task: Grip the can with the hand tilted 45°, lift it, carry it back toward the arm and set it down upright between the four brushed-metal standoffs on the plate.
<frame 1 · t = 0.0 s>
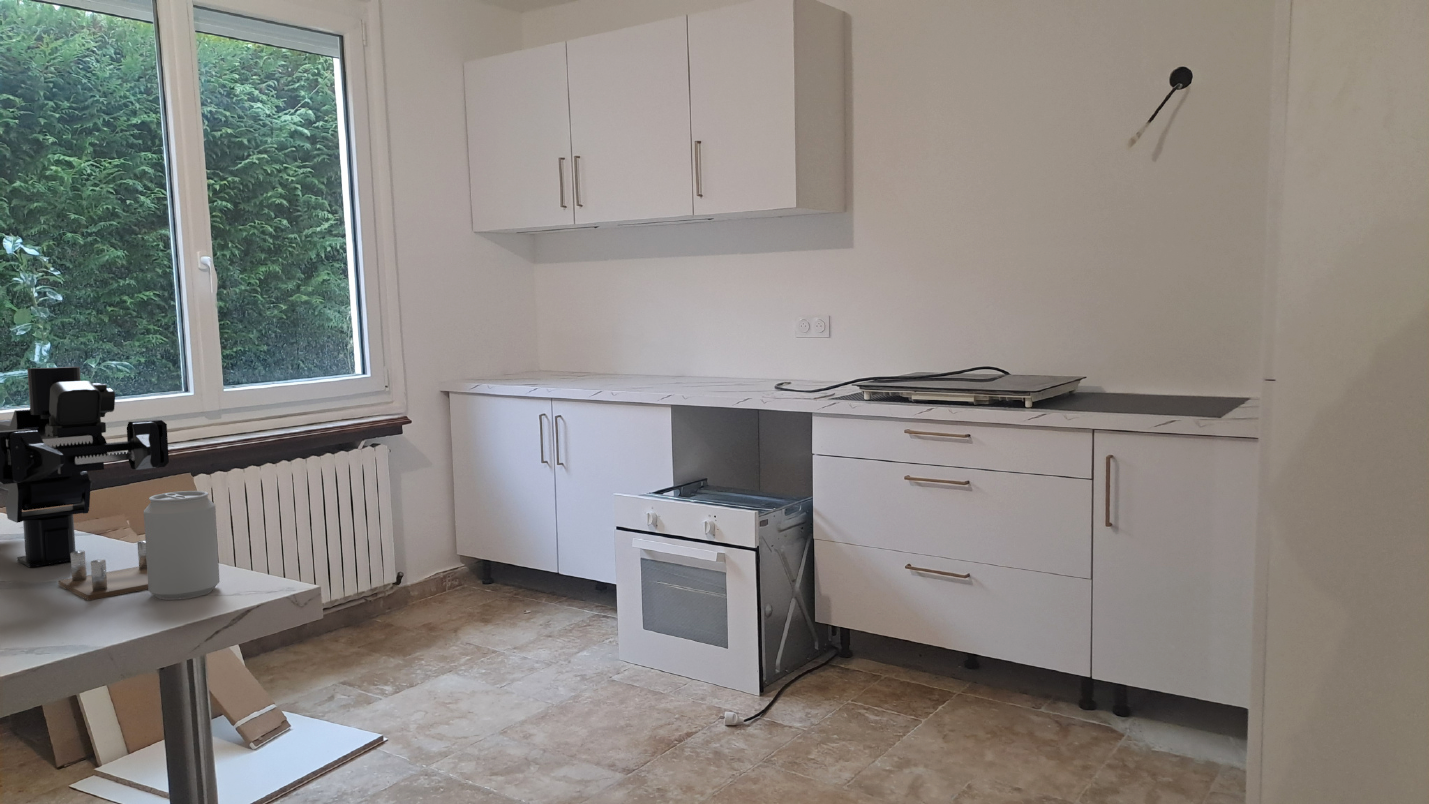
hand: (107, 455, 116), 17 cm above the table, tool horizontal, fingers open, 9 cm apart
can: (184, 594, 116), on the table
standoff plate: (124, 583, 121), on the table
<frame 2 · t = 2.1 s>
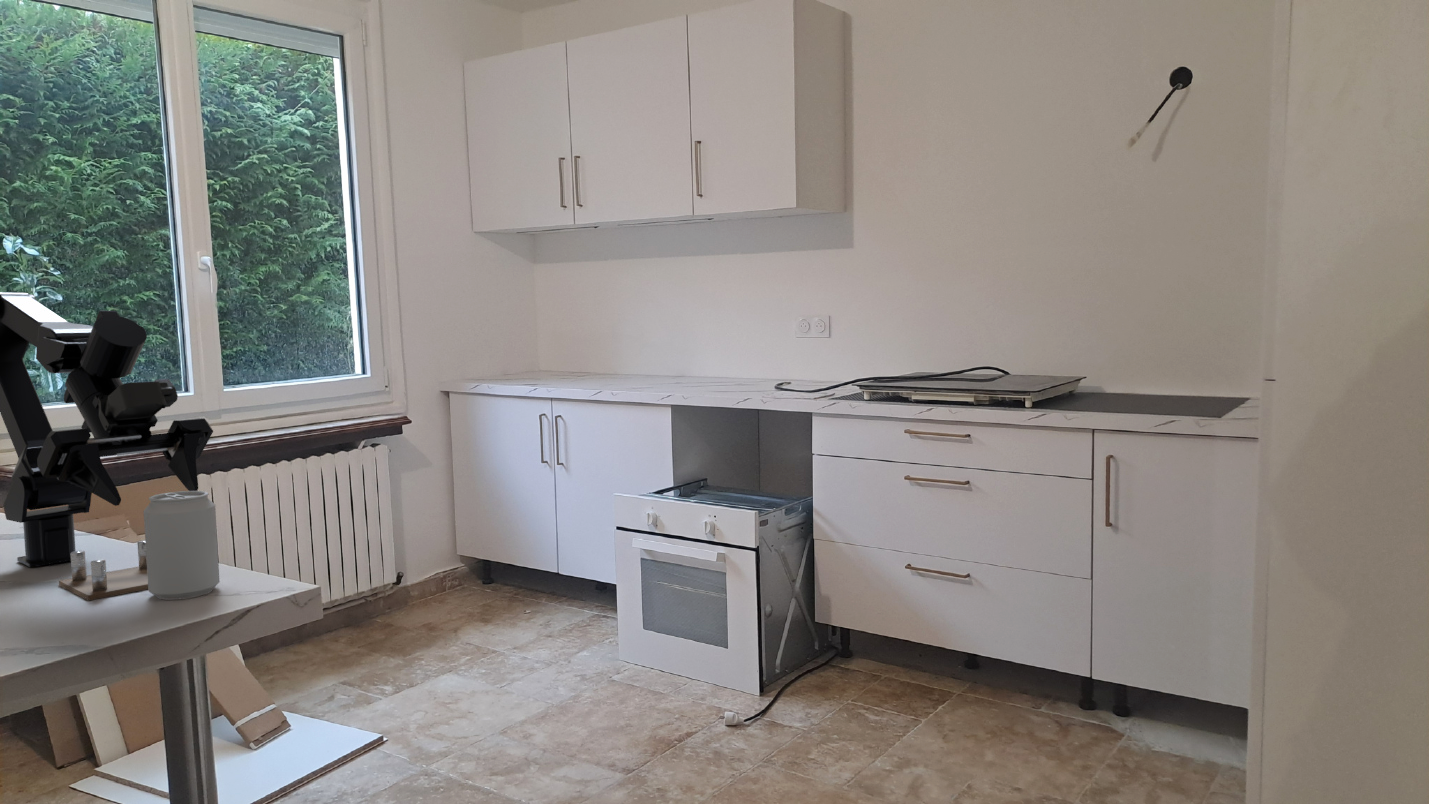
hand: (158, 497, 118), 11 cm above the table, tool tilted 45°, fingers open, 9 cm apart
nothing on the table moved.
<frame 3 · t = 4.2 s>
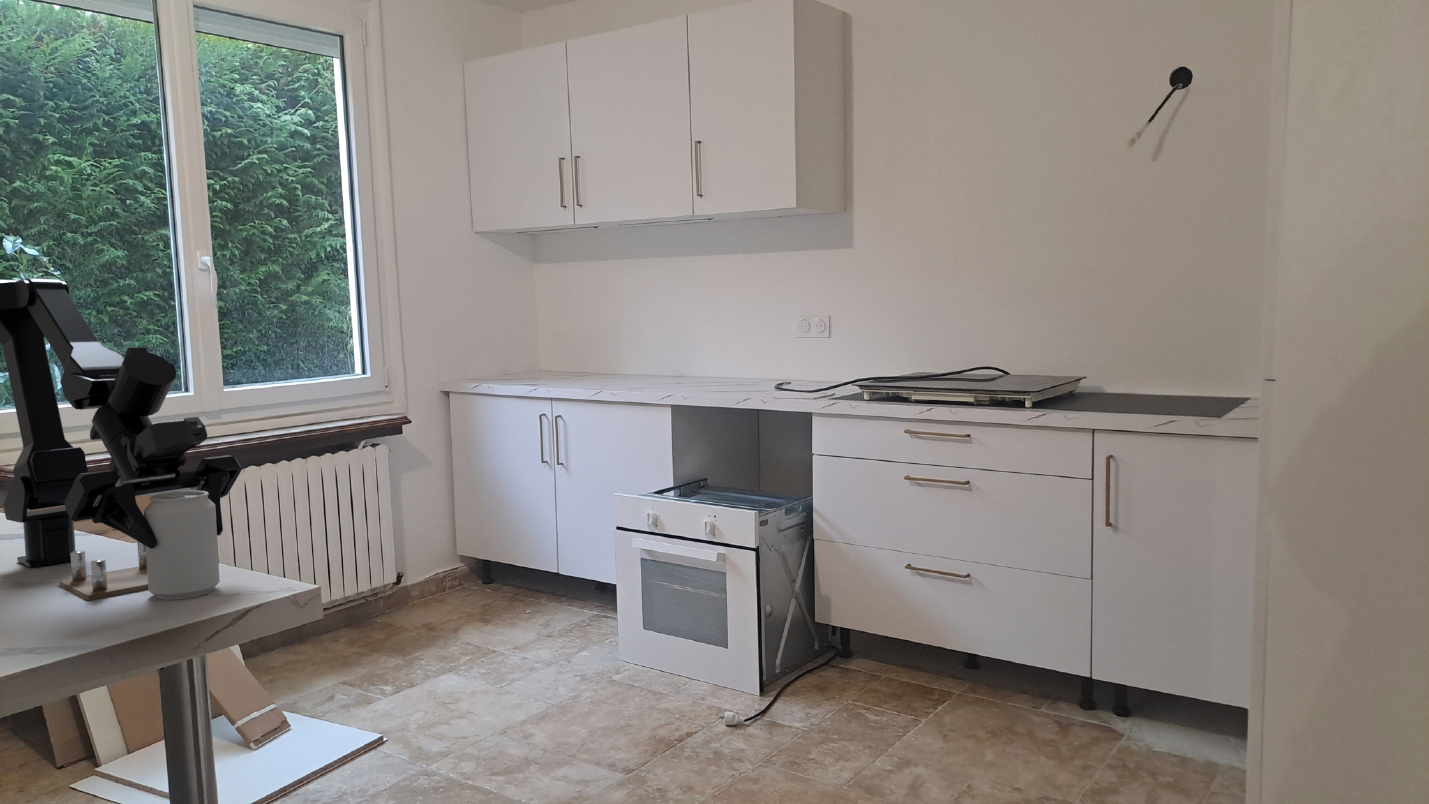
hand: (188, 539, 115), 7 cm above the table, tool tilted 45°, fingers closed on can, 7 cm apart
can: (184, 594, 116), on the table, touching gripper
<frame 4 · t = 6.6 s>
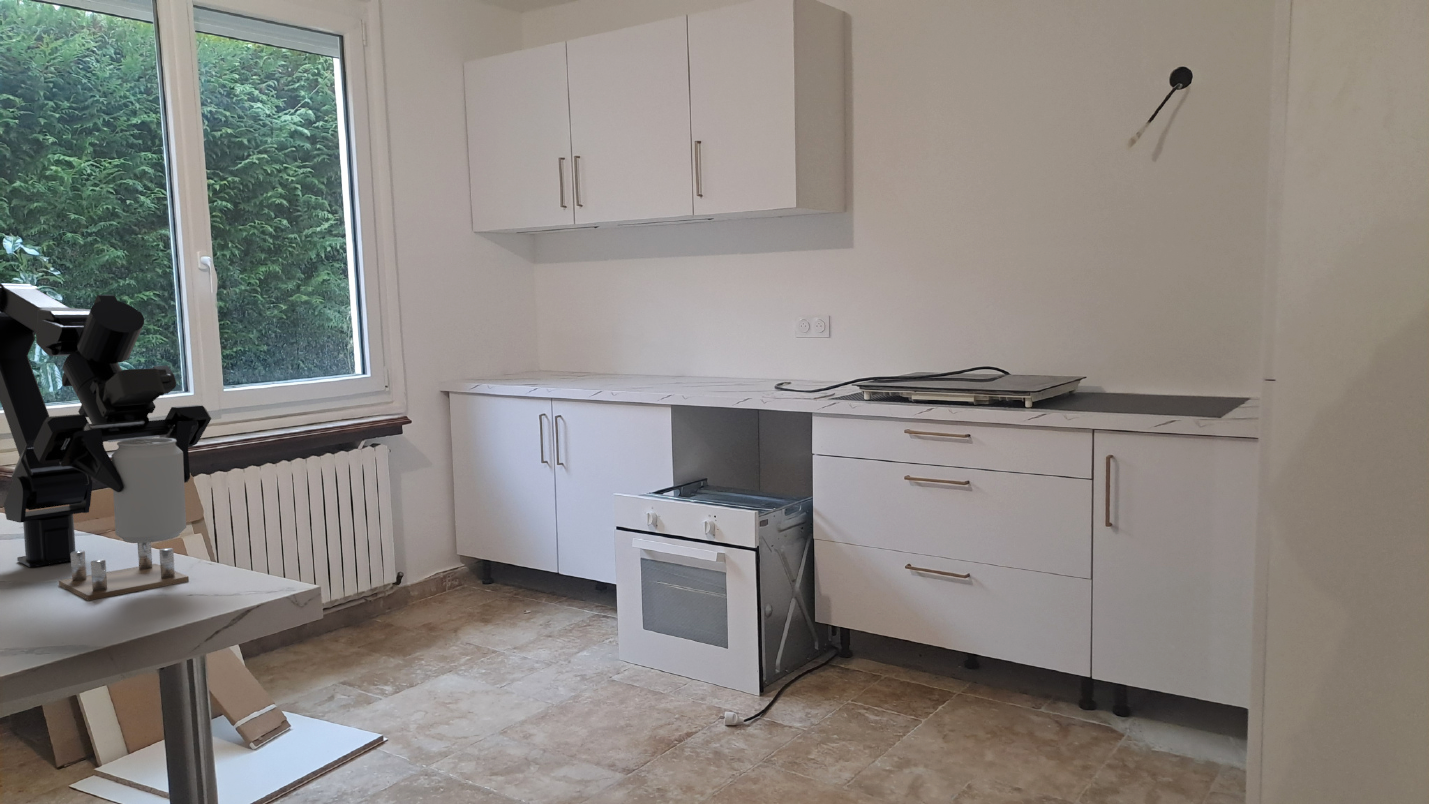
hand: (155, 485, 117), 13 cm above the table, tool tilted 45°, fingers closed on can, 7 cm apart
can: (151, 539, 118), point 6 cm above the table, touching gripper
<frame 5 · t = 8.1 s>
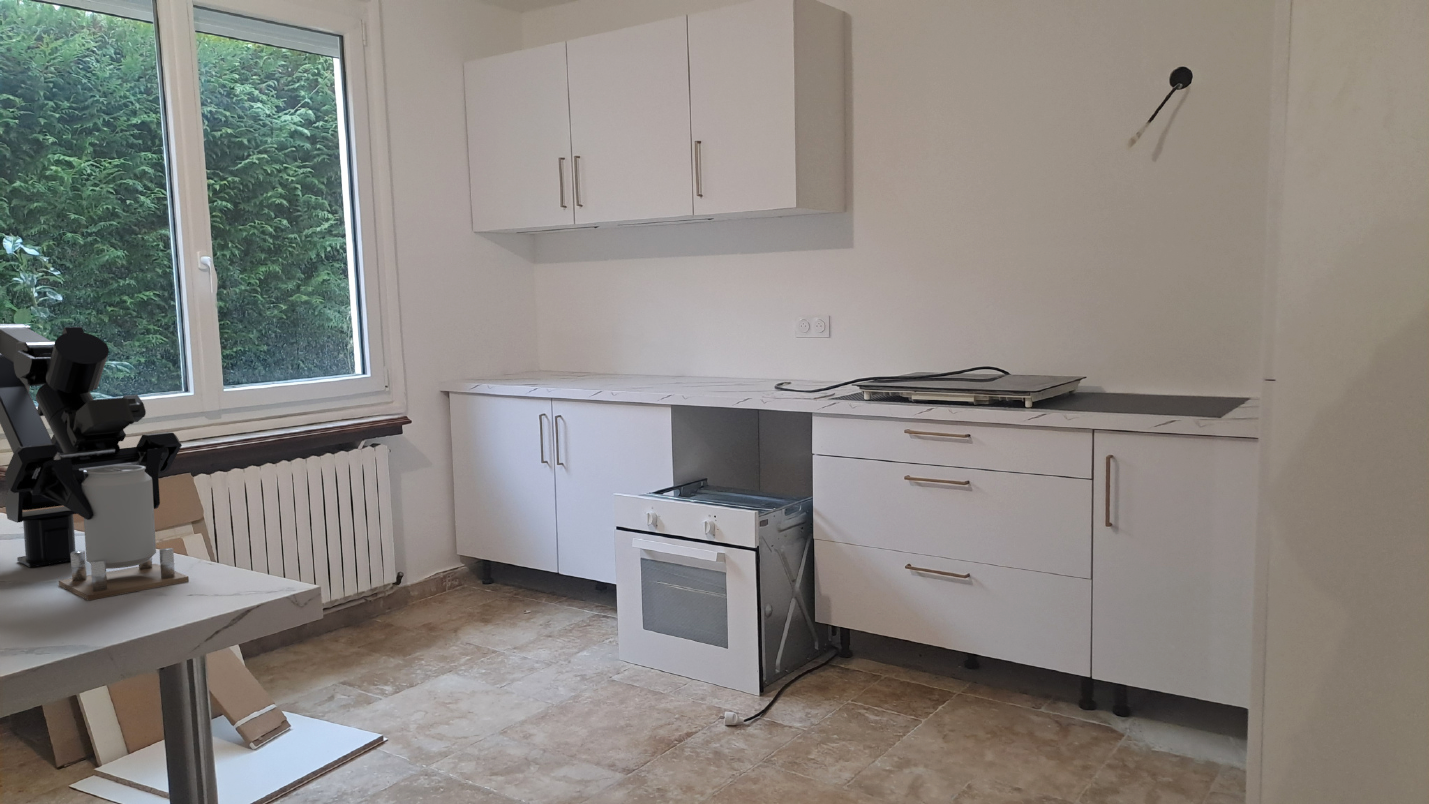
hand: (124, 511, 120), 9 cm above the table, tool tilted 45°, fingers closed on can, 7 cm apart
can: (122, 564, 121), point 2 cm above the table, touching gripper
when the fingers open (8 cm above the table, at t = 9.3 s): can drops 1 cm, resting on standoff plate.
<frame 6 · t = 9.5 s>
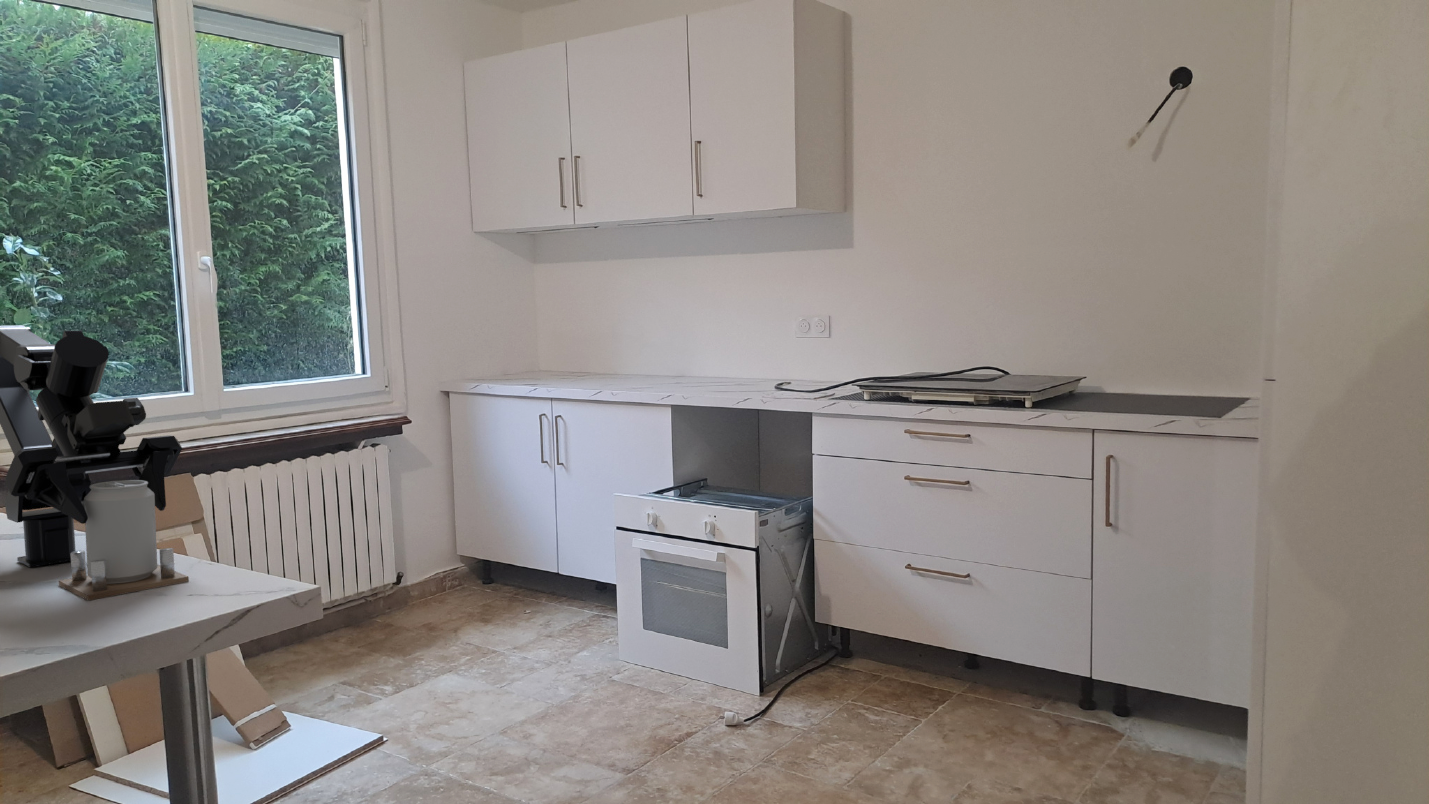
hand: (125, 514, 120), 9 cm above the table, tool tilted 45°, fingers open, 9 cm apart
can: (123, 579, 121), resting on standoff plate
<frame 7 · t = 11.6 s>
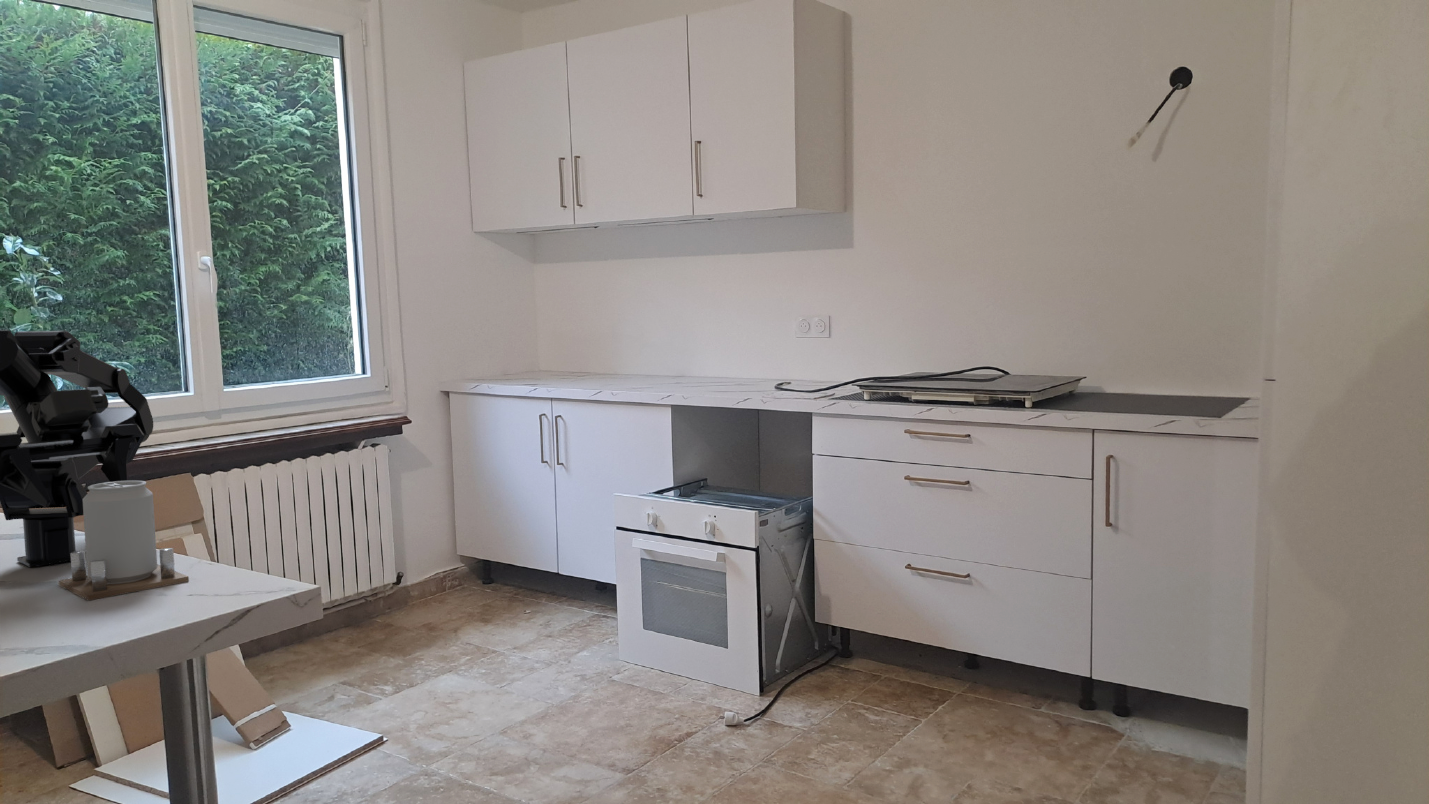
hand: (87, 498, 124), 10 cm above the table, tool tilted 45°, fingers open, 9 cm apart
nothing on the table moved.
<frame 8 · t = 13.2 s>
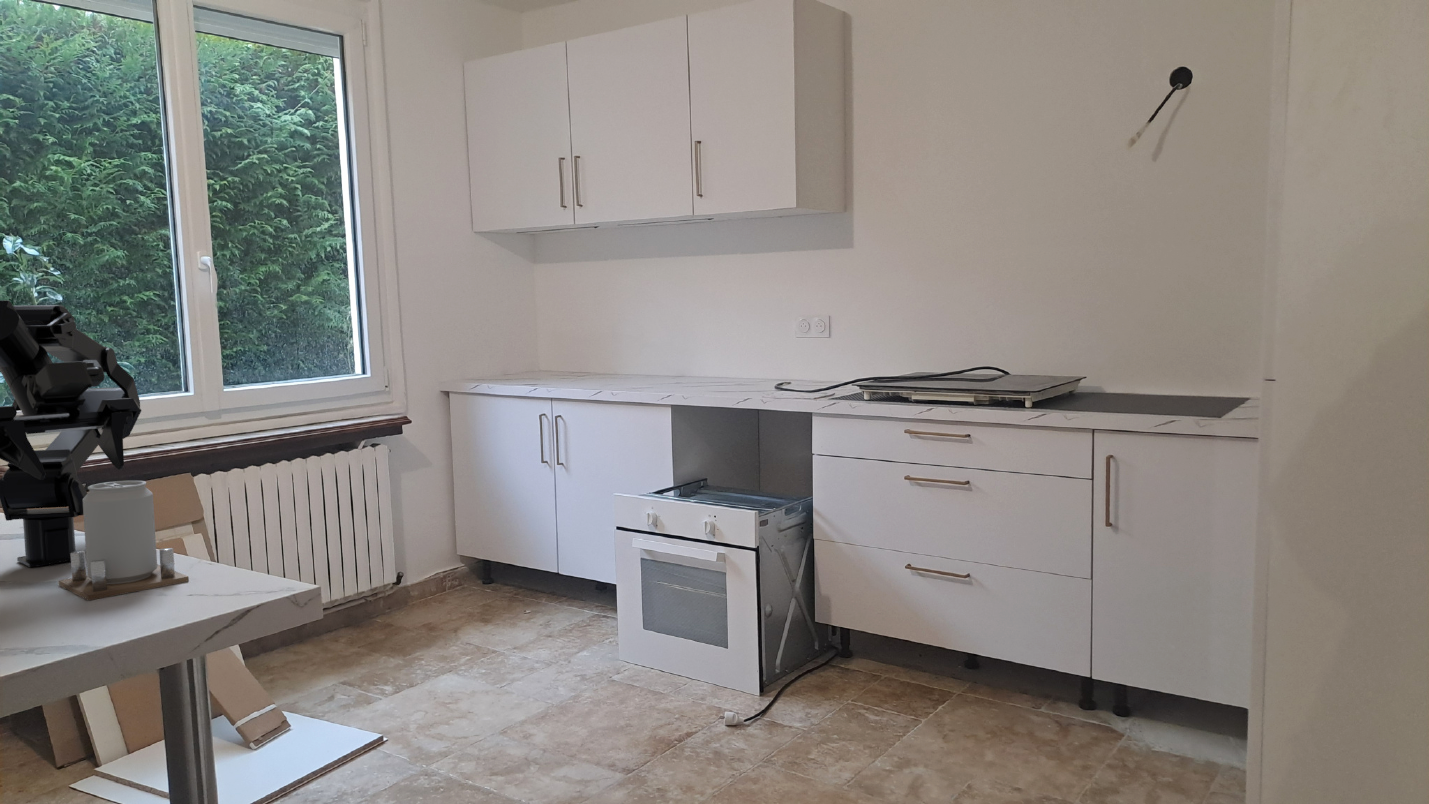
hand: (83, 472, 123), 14 cm above the table, tool tilted 45°, fingers open, 9 cm apart
nothing on the table moved.
at the end: can 0.2 cm off-centre on the standoff plate, point 0.4 cm above the standoff plate's base; can tilted 0°; the gripper is holding nothing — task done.
